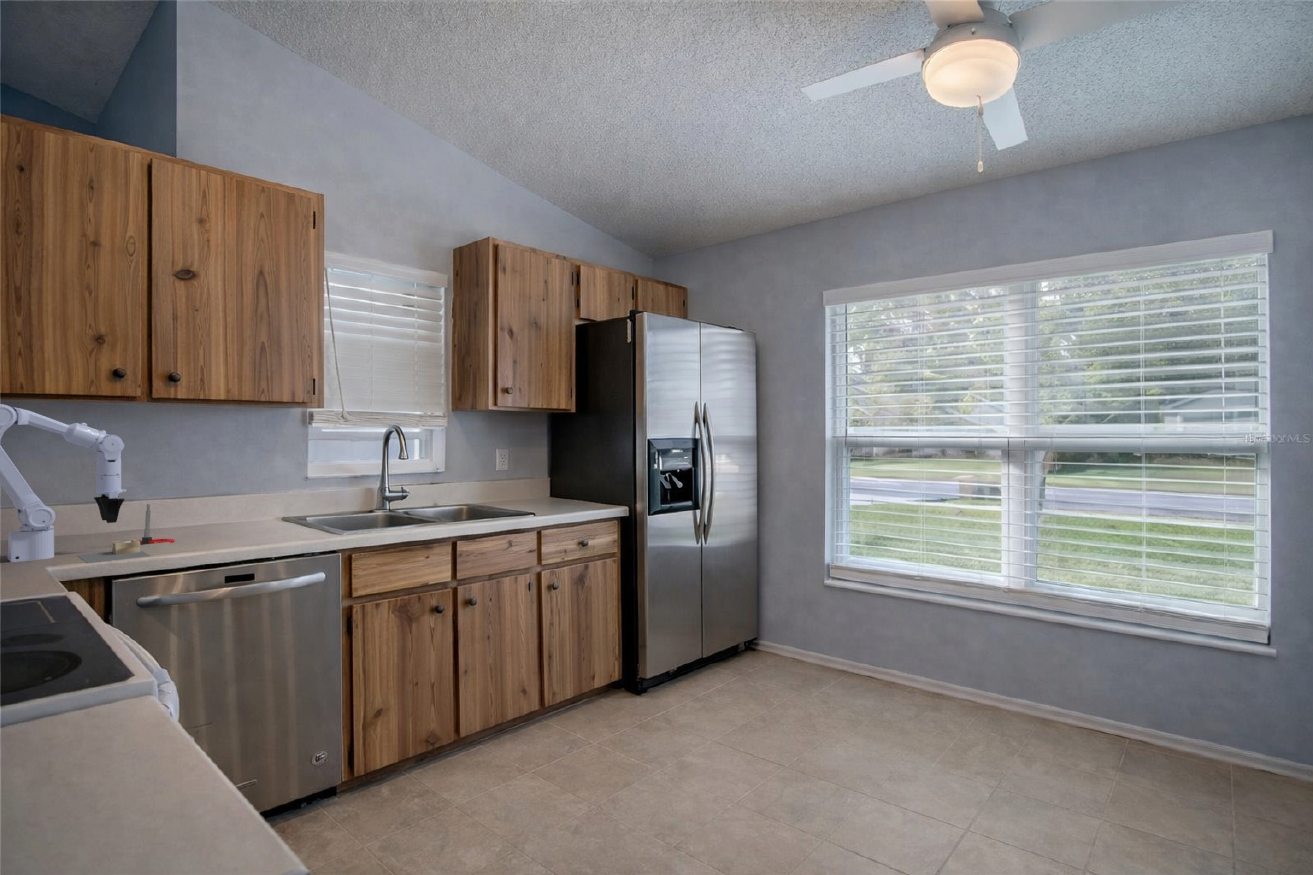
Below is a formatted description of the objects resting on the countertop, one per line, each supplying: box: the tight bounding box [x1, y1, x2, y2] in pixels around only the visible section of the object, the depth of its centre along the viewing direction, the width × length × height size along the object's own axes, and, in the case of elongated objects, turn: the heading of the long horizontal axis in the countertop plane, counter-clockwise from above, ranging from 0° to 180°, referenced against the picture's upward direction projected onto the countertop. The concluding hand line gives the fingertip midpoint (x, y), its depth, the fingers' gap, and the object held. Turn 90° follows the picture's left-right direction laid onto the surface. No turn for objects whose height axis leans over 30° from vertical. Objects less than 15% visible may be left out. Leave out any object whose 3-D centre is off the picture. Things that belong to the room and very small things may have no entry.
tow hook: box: [137, 503, 176, 546], centre depth 220 cm, size 8×13×9 cm
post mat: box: [76, 540, 152, 564], centre depth 193 cm, size 14×16×4 cm
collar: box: [111, 539, 141, 555], centre depth 198 cm, size 6×6×3 cm
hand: (109, 521), depth 202 cm, fingers open, 7 cm apart
